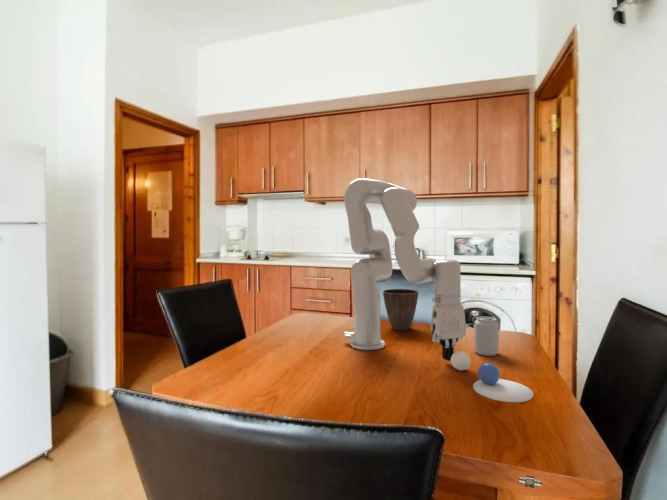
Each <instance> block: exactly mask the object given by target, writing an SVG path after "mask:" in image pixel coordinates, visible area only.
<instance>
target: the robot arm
mask: <svg viewBox="0 0 667 500" xmlns="http://www.w3.org/2000/svg"><path fill="white" fill-rule="evenodd" d="M343 200H344V207H345V212H346V215H347V220H348V221H347V222H348V224H347V225H348V232H349V237H350V246H351V249H352V251H353V252H354V253H355V254H356V255H358V256H359V255H361V256H362V255H363V256H367V255H368V257H367V258H362V259H361V258H360V259H358V260H356V261H355V262H354V263H353V264H352V266H351V267H350V281H351V284H352V291H353V323H354V324H353V329H354V331H352V332H349V331H344V334H343V336H344V339H350V343H349V345H351V346H352V348H353V349H355V348H356V350H360V351H375V350H380V349H383V348H384V347H385V346H386V342H385V340H383V339H381V337H382V336H381V335H382V334H381V295H380V291H379V289H378V286H377V284H381V283H385V282H387V281H388V280H390V278H391V277H392V274H393V260H392V254H391V253H392V252H391V246H390V240H389V238H388V236H387V233H385V231H383V230H381V229H380V228H374V226H373V222H372V221H373V220H372V215H371V212H370V210H369V208H368V207H367V204H377V205H381V206H382V209H383V211H384V213H385V216H386V218H387V220H388V222H389V225H390V227H391V230H392V231H393V234H394V254H395V255H394V256H395V259H396V262H397V265H398V267H399V270H400V272H401V273H402V275H403V277H404V278H405V279H406V281H408V282H409V283H410V284H414V285H418V284H423V283H430V282H434V297H432V302H433V303H434V304H433V307H432V311H431V321H430V334H431V336H432V339H431V342H433V343H437V344H439V345H440V346H441V350H442V351H441V352H442V353H441V354H442V356H441V357H442V359H443V360H445V361H448V362H451V356H452V355H453V353H454V348H455V347H456V344H457V342H458V341H460V340H462V339H463V338H464V337H465V336H466V335H467V325H466V314H465V313H466V312H465V309H464V304H462V303H461V297H462V296H461V294H462V293H461V291H462V290H461V286H462V285H461V282H462V281H461V280H462V279H461V263H460V261H459V260H456V259H436V258H432V257H431V258H429V257H427V258H420V256H419V254H418V252H417V250H416V247H415V236H416V233H417V232H418V230H420V223H419V222H418V221H419V220H417V217H416V216H415V213H414V210H415V209H416V206H417V204H418V200H417V196H416V194H415V193H414V192H413V191H412V190H410V189H408V188H405V187H402V186H399V185H395V184H393V183H390V182H388V181H387V182H386V181H383V180H378V179H373V178H365V177H362V178H357V179H354V180H353V181H351V182H350V183H349V185H348V186H347V188H346V191H345V193H344V199H343ZM351 346H350V347H351Z"/></svg>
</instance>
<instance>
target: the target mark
mask: <svg viewBox="0 0 667 500" xmlns="http://www.w3.org/2000/svg"><path fill="white" fill-rule="evenodd" d="M472 388H473V390H474V391H475V392H476V393H477V394H479V395H481V396H482V397H484V398H487V399H490V400H494V401H499V402H502V403H524V402H527V401H531V399H533V398H534V391H532V389H530V387H528V386H526V385H524V384H522V383H519V382H516V381H513V380H507V379H502V378H499V380H498V382H496V383H495V384H486V383H484V382H482V381H481V380H480V379H479V380H476V381H475V382H474V383H473V385H472Z"/></svg>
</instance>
